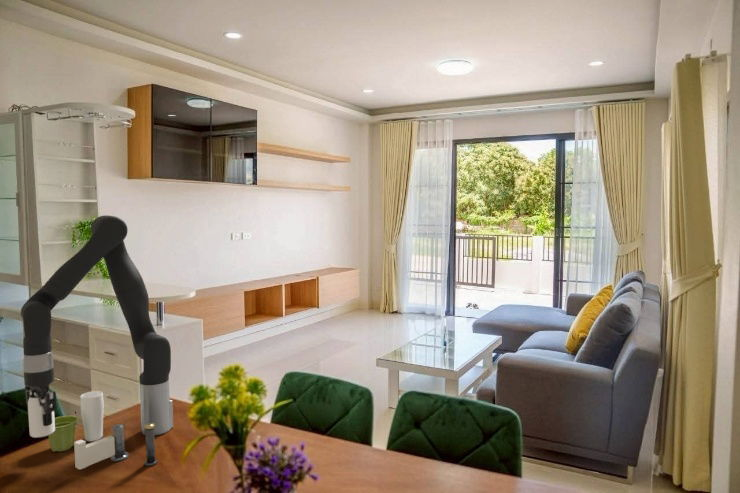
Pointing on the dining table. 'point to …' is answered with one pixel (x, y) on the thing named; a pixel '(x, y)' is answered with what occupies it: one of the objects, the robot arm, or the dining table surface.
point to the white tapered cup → (92, 414)
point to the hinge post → (119, 443)
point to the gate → (93, 451)
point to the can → (38, 419)
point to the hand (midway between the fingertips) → (41, 422)
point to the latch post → (150, 445)
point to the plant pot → (63, 433)
